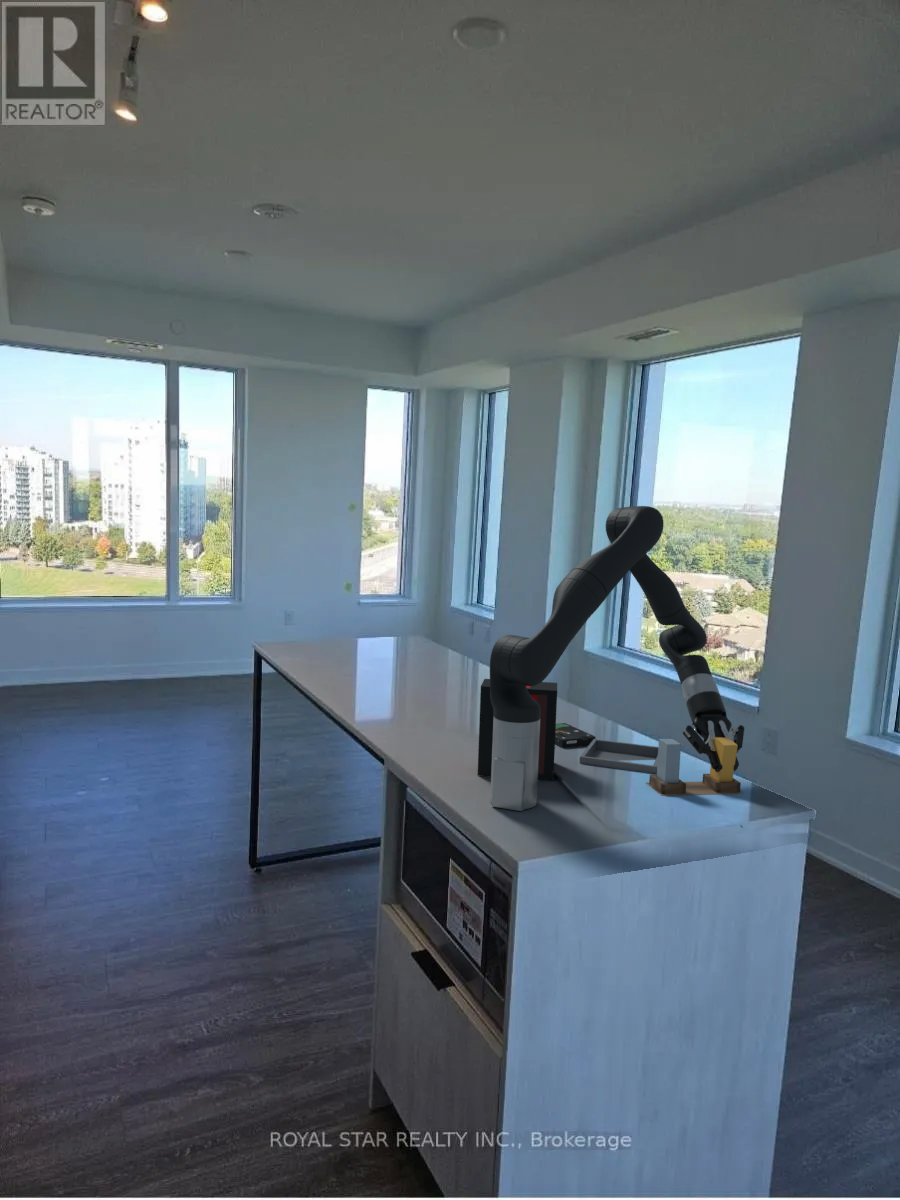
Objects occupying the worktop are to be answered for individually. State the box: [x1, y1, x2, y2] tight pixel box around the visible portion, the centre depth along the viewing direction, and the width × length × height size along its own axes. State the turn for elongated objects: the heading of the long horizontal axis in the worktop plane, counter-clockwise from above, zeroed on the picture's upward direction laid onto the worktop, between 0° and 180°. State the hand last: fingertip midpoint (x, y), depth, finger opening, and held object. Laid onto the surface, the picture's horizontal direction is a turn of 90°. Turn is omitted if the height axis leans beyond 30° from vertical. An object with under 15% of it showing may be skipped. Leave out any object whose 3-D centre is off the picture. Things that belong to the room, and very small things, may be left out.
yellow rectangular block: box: [709, 737, 738, 782], centre depth 162 cm, size 4×3×10 cm
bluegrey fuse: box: [656, 738, 682, 783], centre depth 161 cm, size 4×3×10 cm
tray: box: [579, 738, 659, 775], centre depth 182 cm, size 17×17×3 cm
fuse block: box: [645, 773, 744, 797], centre depth 162 cm, size 8×18×4 cm, turn 99°
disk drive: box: [555, 722, 597, 749], centre depth 204 cm, size 10×3×15 cm
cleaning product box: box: [477, 678, 558, 782], centre depth 173 cm, size 16×9×20 cm, turn 82°
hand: (726, 769), depth 161 cm, fingers closed on yellow rectangular block, 2 cm apart
